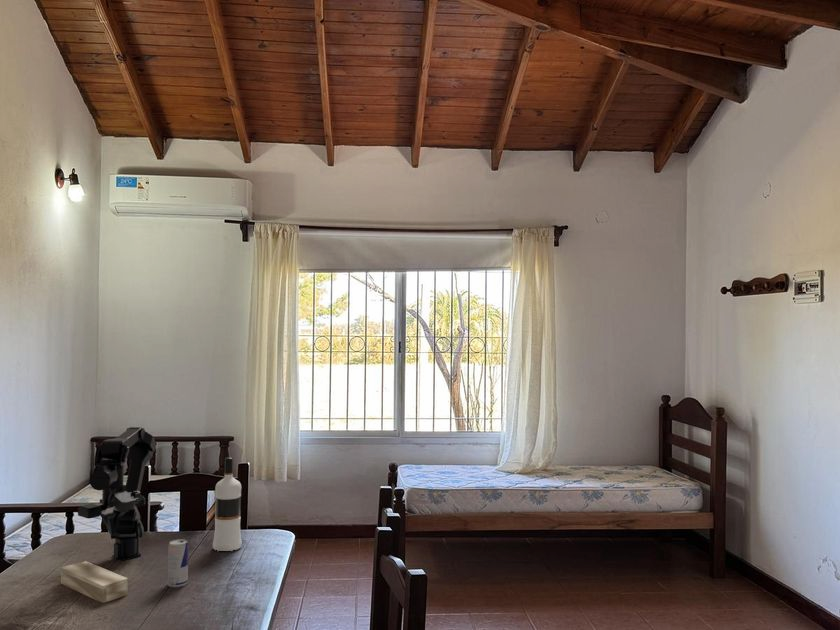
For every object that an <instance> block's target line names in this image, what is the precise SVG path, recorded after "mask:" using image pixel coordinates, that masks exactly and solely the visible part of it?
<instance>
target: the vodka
mask: <svg viewBox="0 0 840 630" xmlns="http://www.w3.org/2000/svg"><path fill="white" fill-rule="evenodd" d="M233 470H234V457H229V456H227V457H225V458H224V477H223V478H222V479H220V480H219V481H217V483H216V484H215V488H214V490H215V495H214V497H215V511H214V512H215V515H214V526H215V527H214V537H213V541H212V548H213V550H215V551H216V550H217V551H216V552H219V551H231V552H234V551H233V550H235V551H237V550H239V549H240V548H241V547H242V544H243V543H242V542H243V540H242V536H241V519H242V518H241V499H242V498H241V497H242V484H241V482H240V481H239V480H237V479H236V478H235V477H234V473H233Z"/></svg>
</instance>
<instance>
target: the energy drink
mask: <svg viewBox="0 0 840 630" xmlns="http://www.w3.org/2000/svg"><path fill="white" fill-rule="evenodd" d="M167 547H168V550H167V554H168V555H167V586H168V587H170V588H182V587H184V586H186V585H187V584H188V580H189V579H188V577H189V575H188V572H189V571H188V570H189V564H188V563H189V543H188V540H187V539H182V538H179V539H173V540H170V541H169V543H168V545H167ZM181 586H182V587H181Z"/></svg>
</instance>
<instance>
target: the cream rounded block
mask: <svg viewBox="0 0 840 630" xmlns="http://www.w3.org/2000/svg"><path fill="white" fill-rule="evenodd" d="M128 583H129V578H128V577H126V576H123V575H120V574H119V573H116V572H114V571H111V570H108V569H106V568H103V567H101V566H99V565H96V564H94V563H91V562H89V561H86V560H85V561H81V562H77V563H73V564H70V565H65V566H63V567H61V568H60V584H61V585H63V586H65V587H67V588H69V589H71V590H73V591H76V592H78V593H80V594H82V595H84V596H87V597H88V598H91V599H93V600H95V601H97V602H100V603H102V604H104V603H107V602H110V601H113V600H116V599H119V598H122V597H126V596H127V595H128V593H129V592H128Z"/></svg>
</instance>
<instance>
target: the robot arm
mask: <svg viewBox="0 0 840 630" xmlns="http://www.w3.org/2000/svg"><path fill="white" fill-rule="evenodd" d="M156 448H157V443H156V439H155V437H154V436H153V435H152V434H150V433H149V432H147V431H146V430H145V428H144V427H142V426H138V427H137V426H136V427H135V426H129V427H127V428H126V430H125V431H123V432H122V433H121V434H119V435H118V436H117V437H115V438H109V439H104V440H102V442H101V443H100V444H99V446H98V449H97V452H96V453H97V454H96V457H95V460H94V463H93V464H94V465H93V466H96V470H95V471H93V472H92V474H91V475H90V478H89V481H88V482H89V486H91V488H92V489H94V490H95V491H101V492H102V495H101V497H102V498H100V499H99V505H98V504H96V503H95V504H94V503H88V504H84V505H80V506H79V507H78V510H77V516H78V517H81V518H84V519H93V518H98V517H101V520H102V521H103V522H104V525H105V527H106V529H107V531H108V533H109V535H110V540H115V541H114V543H113V554H112V558H115V559H117V560H118V561H119V560H120V561H127V560H131V559H134V558H138V557H141V556H142V553H139V550H140V549H139V548H140V547H139V545H140V538H143V537H144V531H145V530H144V526H143V523H142V521H141V515H140V512H139V510H138V507H142V506H145V505H146V498H145V497H144V495H142V494H141V489H142V484H143V478H144V473H145V469H146V465H147V463H149V462H150V461H151V459H152V458H153V455H154V452H155V450H156ZM127 458H129V461H130V464H129V469H128V474H127V478H126V483H125V484H124V475H125V474H124V470H125V469H124V468H125V465H124V464H125V463H126V462H127Z"/></svg>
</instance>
